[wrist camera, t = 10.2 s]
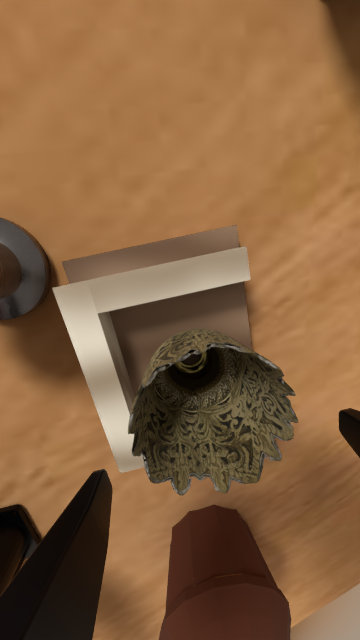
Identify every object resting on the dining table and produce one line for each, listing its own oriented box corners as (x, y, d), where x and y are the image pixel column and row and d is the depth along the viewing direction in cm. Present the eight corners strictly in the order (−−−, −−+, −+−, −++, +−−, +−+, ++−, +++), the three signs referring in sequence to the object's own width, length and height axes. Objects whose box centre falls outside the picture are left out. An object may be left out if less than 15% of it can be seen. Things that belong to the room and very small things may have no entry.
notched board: (254, 414, 21) (276, 449, 17) (131, 445, 20) (125, 487, 16) (229, 228, 16) (251, 217, 12) (70, 261, 16) (42, 261, 12)
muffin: (147, 511, 23) (139, 696, 13) (248, 483, 23) (314, 642, 13) (173, 580, 26) (182, 771, 16) (262, 555, 26) (322, 725, 16)
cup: (245, 314, 16) (323, 360, 9) (226, 398, 18) (276, 498, 10) (147, 301, 15) (136, 340, 8) (137, 392, 17) (120, 497, 10)
